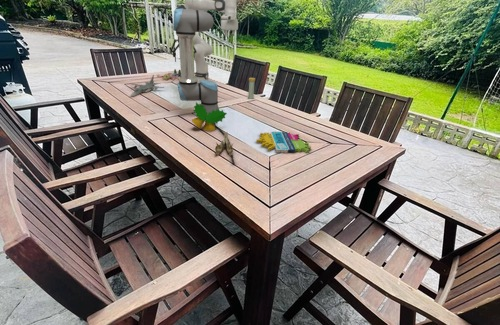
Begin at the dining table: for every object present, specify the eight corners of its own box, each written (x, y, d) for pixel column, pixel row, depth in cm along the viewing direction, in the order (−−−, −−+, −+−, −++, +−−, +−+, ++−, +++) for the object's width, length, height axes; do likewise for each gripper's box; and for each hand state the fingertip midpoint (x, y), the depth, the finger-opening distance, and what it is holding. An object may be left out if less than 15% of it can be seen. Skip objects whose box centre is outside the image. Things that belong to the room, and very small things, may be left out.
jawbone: (234, 135, 144) (233, 125, 135) (233, 160, 138) (232, 151, 129) (217, 135, 144) (216, 125, 135) (216, 160, 138) (214, 150, 129)
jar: (254, 98, 233) (255, 79, 224) (251, 99, 229) (252, 79, 221) (250, 97, 235) (251, 78, 227) (247, 98, 232) (248, 78, 224)
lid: (256, 81, 225) (256, 78, 224) (252, 81, 221) (252, 79, 220) (251, 79, 228) (251, 77, 227) (247, 80, 224) (247, 78, 223)
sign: (313, 150, 142) (258, 149, 139) (312, 153, 143) (258, 152, 140) (301, 132, 164) (254, 130, 161) (301, 134, 165) (254, 133, 162)
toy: (189, 70, 290) (176, 74, 264) (189, 77, 293) (177, 81, 267) (166, 67, 295) (151, 71, 269) (167, 74, 298) (152, 78, 272)
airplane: (124, 86, 238) (122, 75, 233) (160, 84, 251) (158, 74, 246) (129, 99, 209) (126, 86, 204) (168, 96, 223) (167, 84, 217)
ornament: (218, 133, 171) (224, 110, 169) (221, 134, 163) (227, 111, 161) (186, 125, 162) (192, 101, 160) (189, 126, 155) (195, 101, 153)
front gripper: (198, 33, 207) (199, 61, 218) (165, 31, 201) (168, 60, 211) (199, 33, 201) (200, 62, 211) (165, 32, 194) (168, 62, 205)
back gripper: (234, 17, 221) (233, 35, 228) (219, 16, 206) (219, 35, 212) (240, 17, 219) (239, 36, 225) (226, 17, 203) (225, 36, 210)
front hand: (184, 61), depth 211 cm, fingers open, 13 cm apart
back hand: (229, 36), depth 219 cm, fingers open, 8 cm apart
